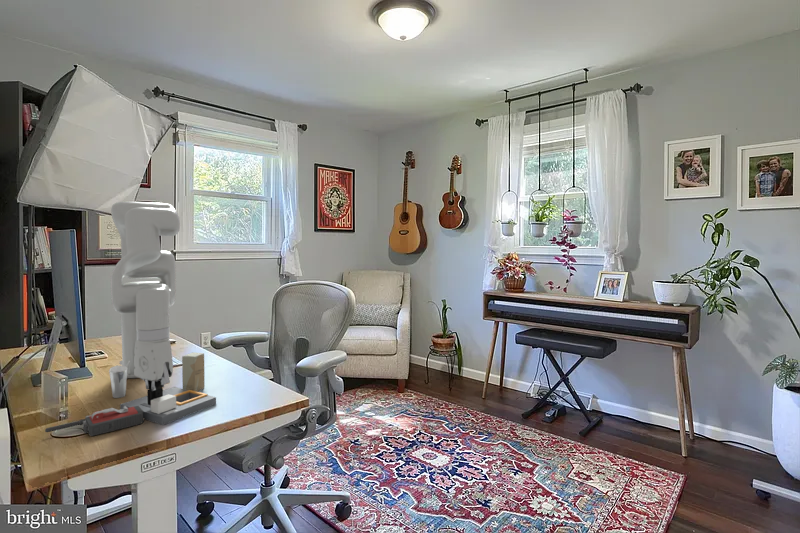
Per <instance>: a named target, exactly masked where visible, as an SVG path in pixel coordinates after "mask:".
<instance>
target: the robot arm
mask: <svg viewBox="0 0 800 533" xmlns="http://www.w3.org/2000/svg"><path fill="white" fill-rule="evenodd" d="M110 214H111V218H112V221H113V223H114V225H115V228H116V229H117V231H118V234H119V237H120V249H121V250H120V253H121V258H120V260H118V262H117V263H116V265H115V266H114V268H113V270H112V272H111V275H110V299H111V305H112V308H113V310H114V311H115V312H117V313H119V315H120V326H121V328H120V329H121V355H122V356H121V357H122V358H121V359H122V360H120V361H119V366H127V364H128V361H129V364H128V366H127V379H137V378H139V379H141V380H143V382H144V384H145V389H146V392H147V395H146V396H147V399H148V405H151V400H153V399H156V398H159V397H162V396H163V391H164V388H165V385H167V384H168V385H169V384H170V382H171V379H170V378H171V377H172V376H173V373H174V372H173V371H174V370H173V369H174V362H173V361H174V360H173V353H172V346H171V341H170V339H171V336H170V335H171V334H170V330H171V329H170V307H172V306H174V304H175V303H176V296H177V294H176V291H177V289H176V286H177V284H176V282H177V281H176V278H177V277H176V276H177V275H176V274H177V273H176V272H177V270H176V269H177V268H176V267H177V266H176V260H175V256H174V254H173V253H172V251H168V250H162V248H161V241H160V239H161V238H160V236H162V237H165V236H166V237H167V236H169V237H172V236H173V237H174V236H176V235H178V234H179V233H180V228H181V221H180V216H179V213H178V211H177V210H176V208H175V207H174V206H173V205H172V204H170V203H166V202H165V203H164V202H148V201H133V200H132V201H131V200H130V201H118V202H115V203H114V204H112V205H111V208H110ZM124 277H125V278H127V279H134V280H136V279H137V280H140V279H142V280H141V281H131V282H129V281H128V282H125V283H123V279H124ZM143 279H160V280H150V281H147V280H144V281H143Z"/></svg>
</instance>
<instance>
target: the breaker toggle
mask: <svg viewBox="0 0 800 533" xmlns="http://www.w3.org/2000/svg"><path fill="white" fill-rule="evenodd" d="M173 408H176V396H173V395H170V394H168V395H165V396H162V397H159V398H156V399H153V400H151V412H154V413H157V414H160V413H162V412H165V411H168V410H171V409H173Z"/></svg>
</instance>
